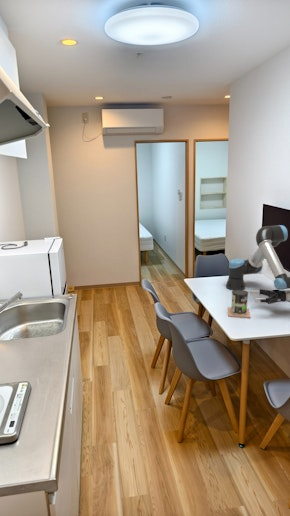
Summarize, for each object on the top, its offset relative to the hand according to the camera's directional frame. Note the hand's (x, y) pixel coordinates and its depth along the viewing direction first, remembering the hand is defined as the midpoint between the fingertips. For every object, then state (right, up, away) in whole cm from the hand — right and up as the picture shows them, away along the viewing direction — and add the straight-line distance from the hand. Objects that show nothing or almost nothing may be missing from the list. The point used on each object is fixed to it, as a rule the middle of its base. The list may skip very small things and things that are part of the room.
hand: (252, 296), depth 231 cm
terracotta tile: (-9, -11, +1) cm, 14 cm away
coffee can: (-9, -11, +1) cm, 14 cm away
